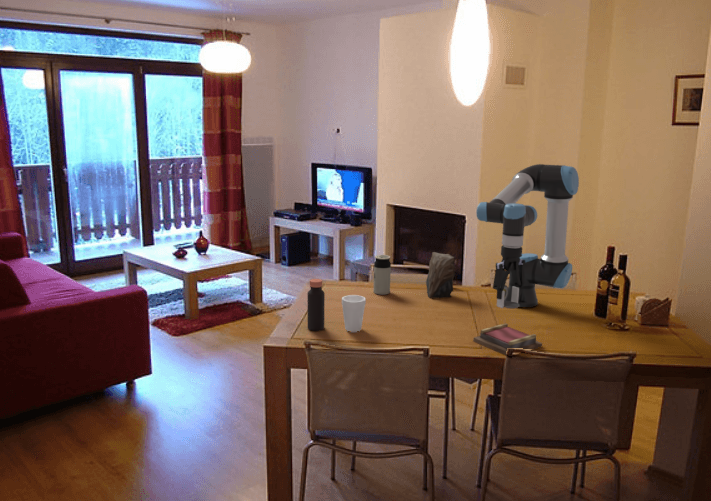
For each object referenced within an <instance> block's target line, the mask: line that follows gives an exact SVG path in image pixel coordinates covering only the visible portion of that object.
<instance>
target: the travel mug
mask: <svg viewBox="0 0 711 501" xmlns="http://www.w3.org/2000/svg"><path fill="white" fill-rule="evenodd" d="M374 259H375V261H374V263H373V289H372V290H373V293H374V294H375V295H381V296H382V295H383V296H385V295H388V294H390V293H391V269H392V268H391V267H392V263H391V261H390V259H391V256H390V255H387V254H377V255H374Z"/></svg>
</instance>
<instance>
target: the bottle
mask: <svg viewBox="0 0 711 501" xmlns="http://www.w3.org/2000/svg"><path fill="white" fill-rule="evenodd" d="M309 288H310V289H309V290H308V291H307V293H306V294H307V329H308V330H309V331H311V330H312V331H313V332H318V331H319V330H320V331H323V330H324V329H325V300H326V299H325V298H326V296H325V291H324V290H323V289H322V288H323V280H322V279H321V278H313V279H309ZM320 331H319V332H320Z"/></svg>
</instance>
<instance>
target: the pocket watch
mask: <svg viewBox="0 0 711 501" xmlns="http://www.w3.org/2000/svg"><path fill="white" fill-rule="evenodd" d="M508 287H509V286H507V285H506V284H505V286H504V289H503V291H505V295H504V308H506V309H518V307H519V304H518V303H516V302H510V301H506V302H505V300H506V299H507V296H508ZM500 288H501V287H500Z"/></svg>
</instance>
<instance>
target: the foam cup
mask: <svg viewBox="0 0 711 501" xmlns="http://www.w3.org/2000/svg"><path fill="white" fill-rule="evenodd" d="M366 301H367V300H366V297H365V296H362V295H358V294H349V295H345V296H342V297H341V306H342V313H343V321H344V328H345V329H346V330H347V331H346V330H345V331H346V332H348V331H351V332H350V333H358V332H357V331H359V332H360V330H361V331H362V327H363V319H364V314H365V308H366Z"/></svg>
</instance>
